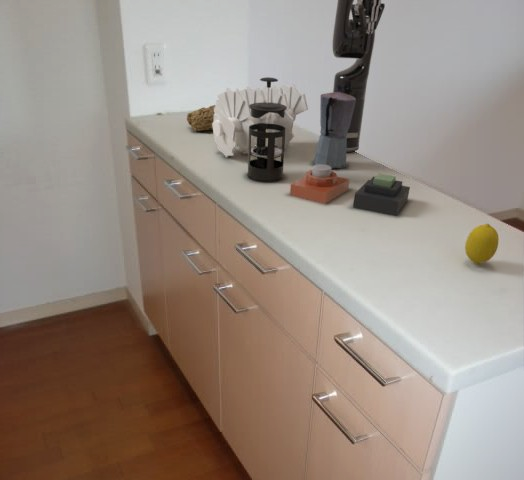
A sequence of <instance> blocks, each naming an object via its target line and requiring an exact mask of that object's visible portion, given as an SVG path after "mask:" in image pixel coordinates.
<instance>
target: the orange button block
mask: <svg viewBox="0 0 524 480" xmlns="http://www.w3.org/2000/svg"><path fill="white" fill-rule="evenodd" d="M349 185H350V179H349V178H345V177H341V176H338V175H337V173H336V172H334V171H333V170H331V176H330V177H326V178H321V177H315V176H313V175H312V169H309V170H307V171H306V172H305V176H304V177H302V178H300V179H298V180H296V181H294V182H292V183H290V190H289V195H290V196H292V197H297V198H300V199H303V200H304V199H305V200H308V201H310V202H311V201H312V202H316V203H319V204H324V205H326V204H328V203H330V202H332V201H333V200H334V199H336V198H338V197H339V196H341V195H343V194H345V193H346V192H348V191H349Z"/></svg>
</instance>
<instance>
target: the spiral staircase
mask: <svg viewBox="0 0 524 480" xmlns="http://www.w3.org/2000/svg"><path fill="white" fill-rule="evenodd" d="M217 98H218V99H217V100H216V102H215V104H214V105H215V108H214V113H215V114H214V122H213V123H212V127H213V129H212V132H213V138H214V141H215V143H216V146H217V148H218V150H219V152H221V154H223V156H225V158H227V159H228V158H229V156H232V157H233V156H235V148H236V147H237V148H238V149H239V150H240V151H241V152H242V153H243V154H244V155H246V154H248V145H249V126H250V125H253V124H257V123H267V114H265V115H263V116H262V117H260V118H254V117H252V116H251V109H250V108H249V105H250V104H254V103H267V101H268V88H267V86H265V85H263V86H262V89H261V90H260V87H258V88H256V89H255V88H253V86H250V85H249V84H248V85H246V88H244V89H242V90H239V88H236V89H235V91H234V90H233V89H231V88H229V87H226V88H225V91H223V92H221V93H220V94H218V95H217ZM269 103H278V104H282V105H285V106H286V107H287V109H286V110H285V113H284V118H282V117H281V116H280V115H279V114H278V113H271V112H269V113H268V124H277V125H281V126H283V127H285V146H284V149H286V148H287V149H288V148H291V143H290V142H291V141H292V140H293V138H294V137H295V134H294V132H293V127H294V122H295V121H296V119H297V115H299V114H302V113H304V112H306V111H308V110H309V107H308V102H307V98H306V94H305V93H302V94H301V92H300V91H299V90H298V87H297V86H296V84H292V85H291V86H290V85H288V84H286V83H282V84H281V87H279V88H277V87H276V85H272V87H271V88H269ZM255 131H257V130H255ZM268 132H280V131H278V130H273V129H268ZM254 146H256V147H257V137H255V136H252V135H251V149H252V148H255V147H254ZM265 146H266V142H265ZM267 146H268V139H267ZM275 146H276V147H277V148H278V149H281V150H282V137H279V138H275Z"/></svg>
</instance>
